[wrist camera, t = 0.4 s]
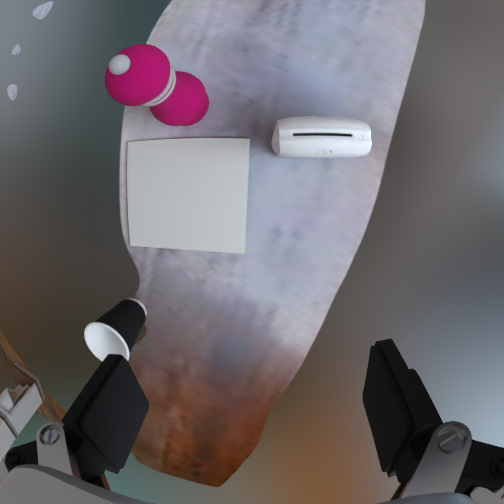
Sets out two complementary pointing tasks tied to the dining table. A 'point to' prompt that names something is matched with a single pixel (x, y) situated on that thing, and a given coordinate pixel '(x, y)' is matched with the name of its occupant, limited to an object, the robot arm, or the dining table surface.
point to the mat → (188, 193)
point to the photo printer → (321, 137)
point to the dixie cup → (116, 329)
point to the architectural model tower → (18, 406)
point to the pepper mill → (155, 85)
